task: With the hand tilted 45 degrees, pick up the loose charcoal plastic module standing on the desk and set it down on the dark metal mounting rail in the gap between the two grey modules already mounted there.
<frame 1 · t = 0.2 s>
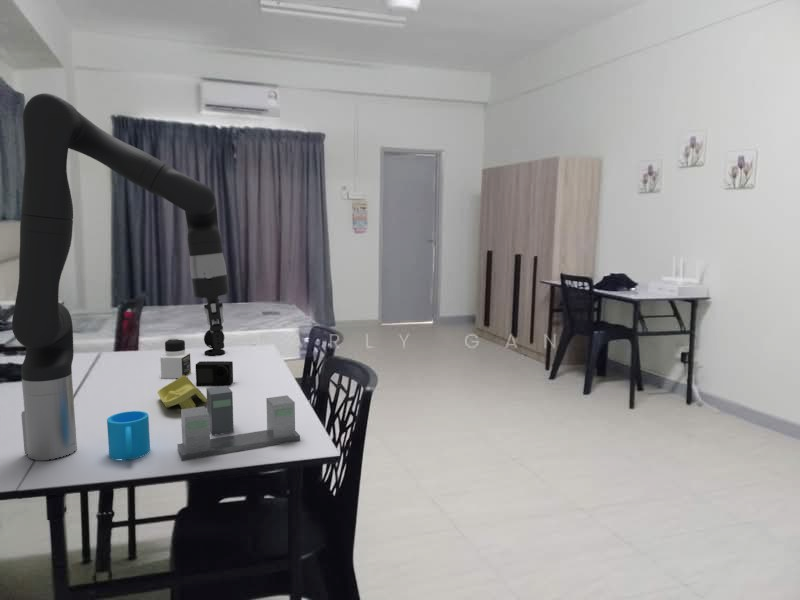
hand: (219, 345, 132), 22 cm above the table, tool pointing down, fingers open, 8 cm apart
digital camera: (214, 385, 181), on the table
mug: (130, 457, 126), on the table
module: (220, 429, 142), on the table
rail: (240, 444, 132), on the table
webcam: (214, 354, 222), on the table
plastic component: (182, 406, 161), on the table
medicine bottle: (176, 376, 191), on the table
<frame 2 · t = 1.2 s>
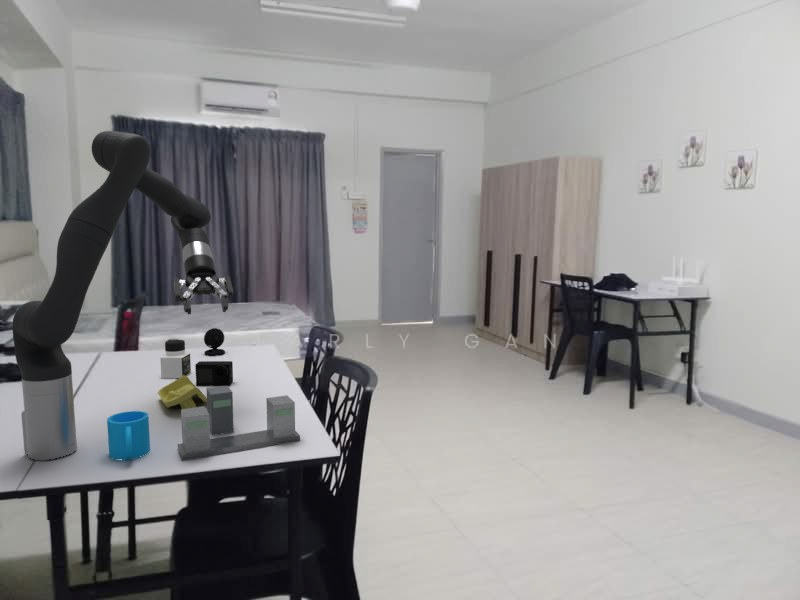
hand: (207, 311, 146), 28 cm above the table, tool tilted 45°, fingers open, 8 cm apart
nothing on the table moved.
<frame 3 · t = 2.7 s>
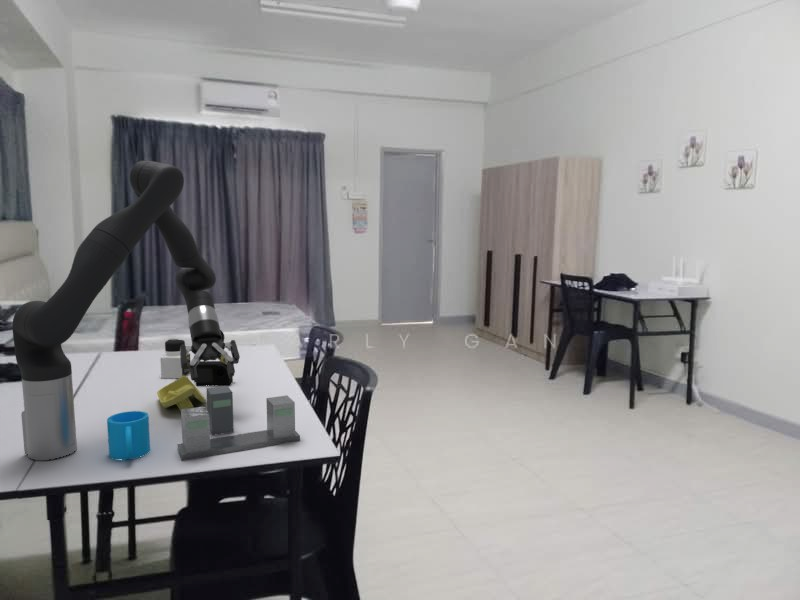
hand: (214, 378, 146), 11 cm above the table, tool tilted 45°, fingers open, 8 cm apart
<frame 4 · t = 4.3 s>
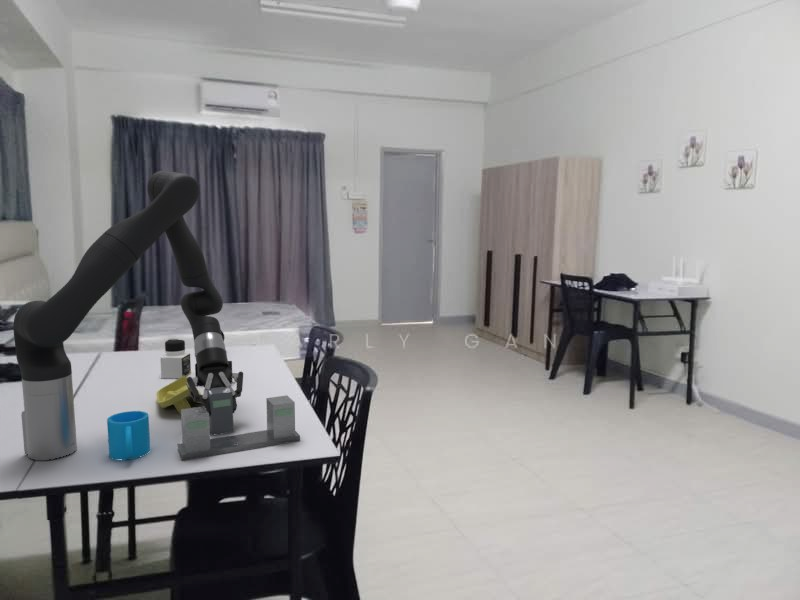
hand: (221, 413, 140), 5 cm above the table, tool tilted 45°, fingers closed on module, 5 cm apart
module: (220, 429, 142), on the table, touching gripper
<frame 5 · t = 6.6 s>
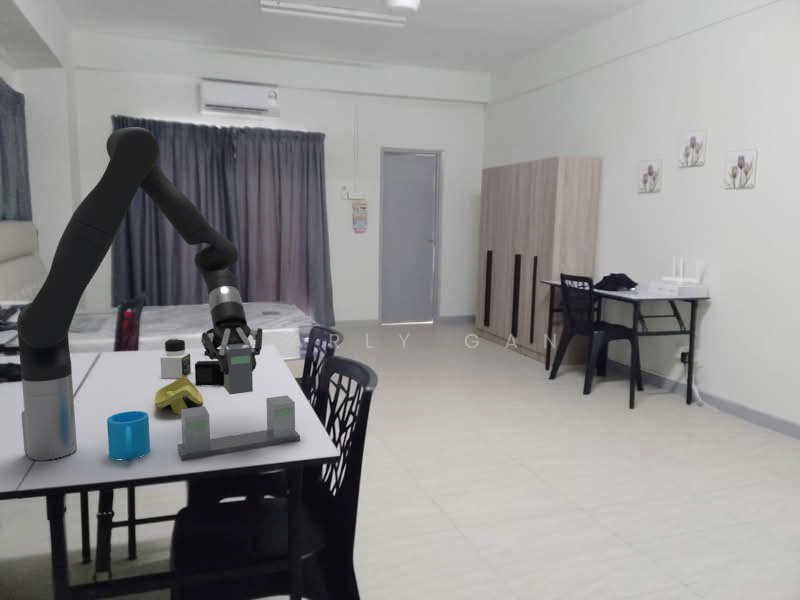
hand: (239, 371, 129), 18 cm above the table, tool tilted 45°, fingers closed on module, 5 cm apart
module: (238, 389, 131), point 13 cm above the table, touching gripper
when the fingers open (7 cm above the table, at t = 8.9 s): module stays where it is, resting on rail.
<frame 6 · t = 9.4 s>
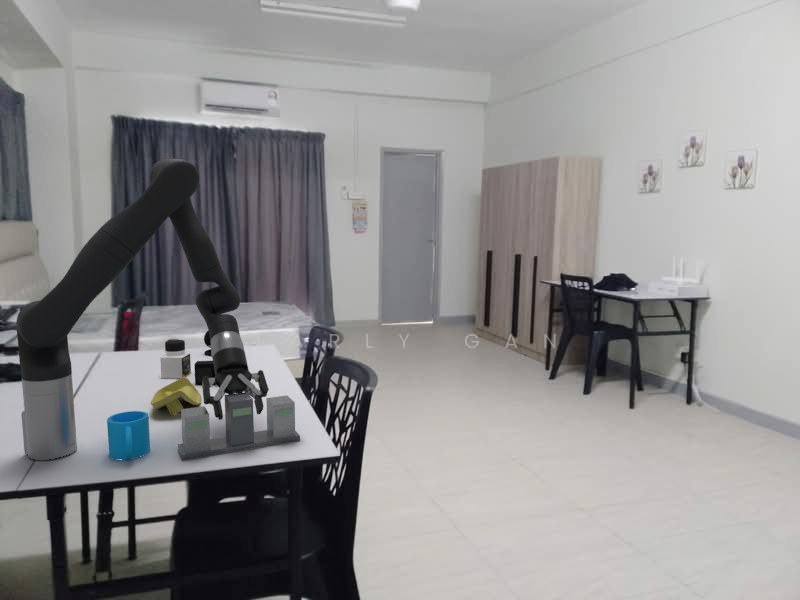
hand: (240, 415, 130), 7 cm above the table, tool tilted 45°, fingers open, 8 cm apart
module: (239, 439, 132), point 1 cm above the table, touching rail
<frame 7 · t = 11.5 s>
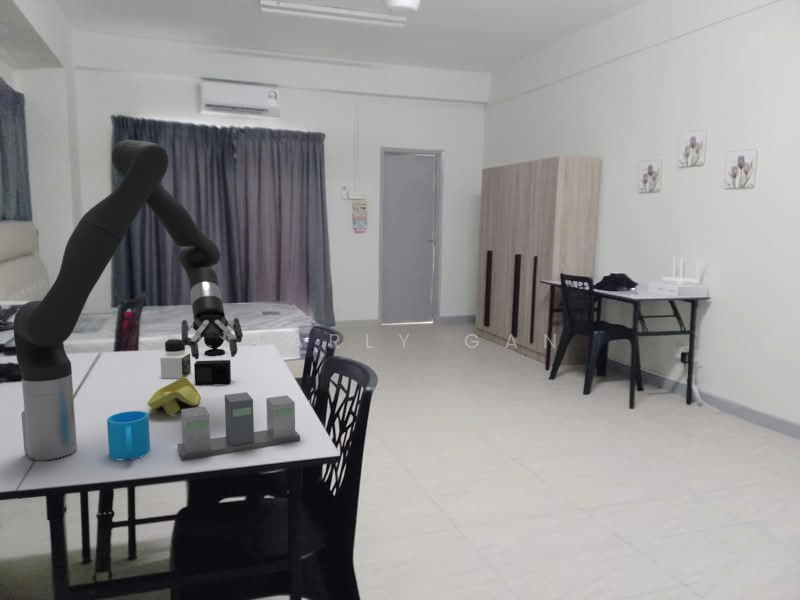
hand: (215, 356, 141), 18 cm above the table, tool tilted 45°, fingers open, 8 cm apart
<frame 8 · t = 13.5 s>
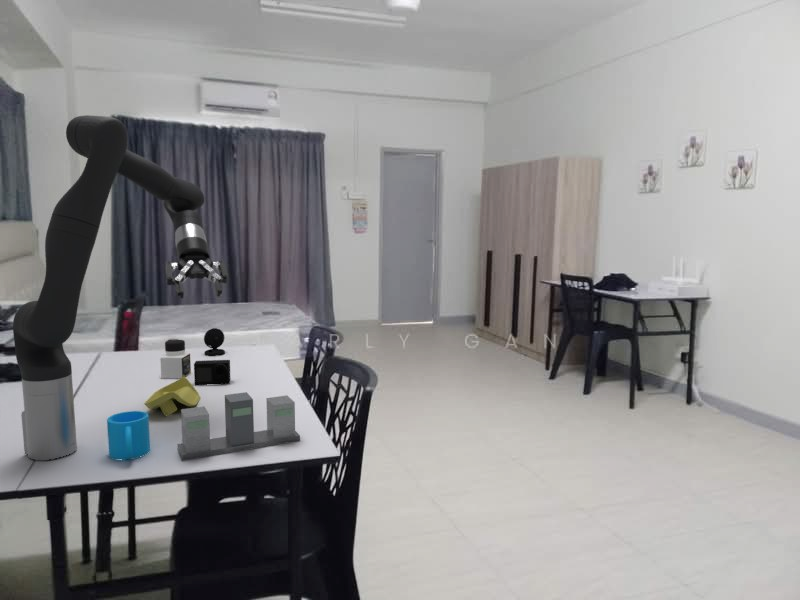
hand: (200, 295, 140), 33 cm above the table, tool tilted 45°, fingers open, 8 cm apart
at the end: module inside the target area on the rail (0.1 cm from its centre), point 1.2 cm above the rail's base; module tilted 0°; the gripper is holding nothing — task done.
